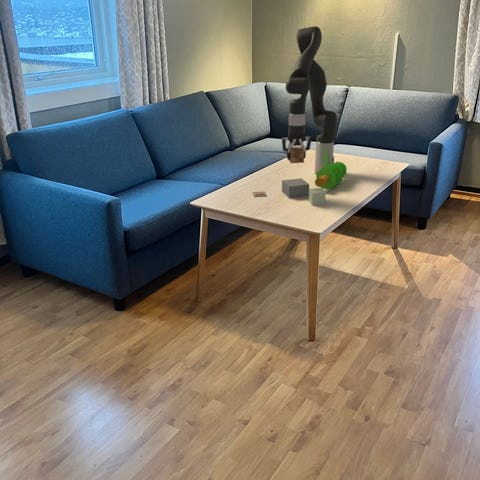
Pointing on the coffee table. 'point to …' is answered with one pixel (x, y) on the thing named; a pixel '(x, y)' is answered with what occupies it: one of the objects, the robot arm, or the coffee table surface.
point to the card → (259, 194)
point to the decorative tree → (330, 175)
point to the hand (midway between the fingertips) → (296, 159)
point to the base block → (295, 188)
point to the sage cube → (317, 196)
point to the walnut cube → (296, 155)
